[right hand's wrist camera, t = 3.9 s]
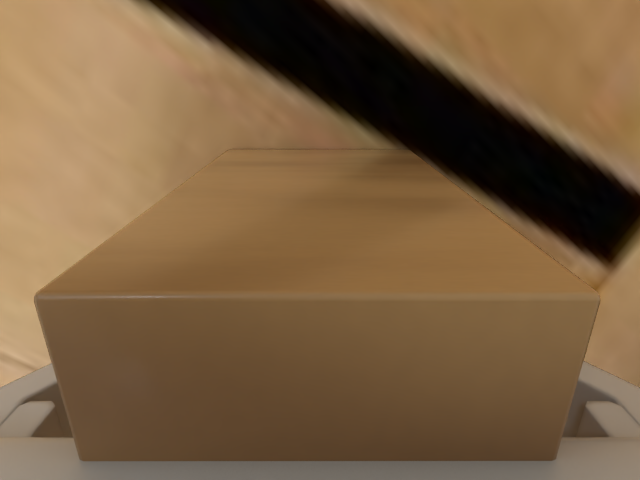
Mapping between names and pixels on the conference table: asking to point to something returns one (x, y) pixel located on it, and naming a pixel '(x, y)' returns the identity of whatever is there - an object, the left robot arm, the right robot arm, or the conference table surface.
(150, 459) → the bar
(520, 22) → the conference table surface
